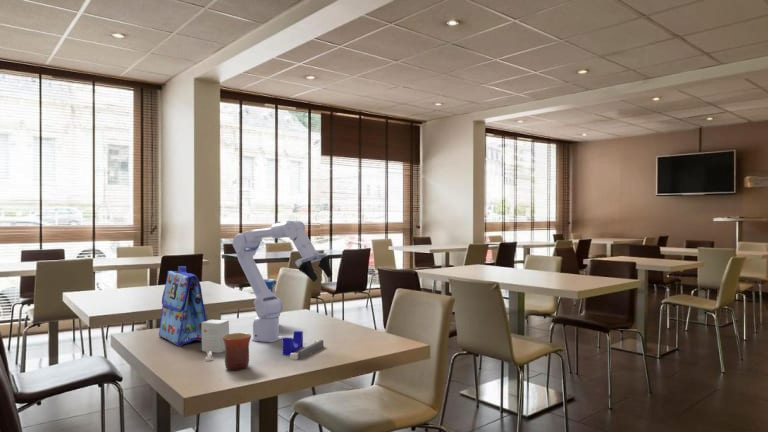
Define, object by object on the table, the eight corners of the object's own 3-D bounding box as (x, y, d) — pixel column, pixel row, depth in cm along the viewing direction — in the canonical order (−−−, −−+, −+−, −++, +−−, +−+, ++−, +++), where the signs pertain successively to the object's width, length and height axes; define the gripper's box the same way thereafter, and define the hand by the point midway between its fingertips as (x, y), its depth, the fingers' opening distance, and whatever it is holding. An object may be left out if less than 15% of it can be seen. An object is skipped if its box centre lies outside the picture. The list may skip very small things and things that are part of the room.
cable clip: (291, 346, 192) (291, 330, 192) (302, 347, 191) (302, 331, 191) (278, 355, 180) (278, 338, 181) (290, 356, 180) (290, 338, 180)
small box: (229, 349, 188) (229, 320, 188) (220, 353, 183) (219, 323, 183) (211, 347, 191) (211, 319, 191) (201, 351, 186) (201, 322, 186)
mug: (248, 371, 161) (248, 338, 161) (219, 372, 160) (219, 339, 160) (255, 361, 173) (254, 330, 173) (228, 361, 172) (228, 331, 172)
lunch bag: (157, 336, 209) (157, 265, 209) (191, 331, 218) (191, 263, 218) (176, 347, 192) (176, 269, 192) (212, 341, 201) (212, 266, 201)
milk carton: (260, 323, 233) (260, 279, 233) (274, 323, 234) (274, 279, 234) (257, 328, 223) (257, 282, 223) (272, 328, 224) (272, 281, 224)
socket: (290, 358, 175) (290, 351, 175) (316, 345, 193) (316, 338, 193) (299, 359, 174) (299, 352, 174) (324, 346, 192) (324, 339, 192)
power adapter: (214, 361, 174) (214, 351, 174) (206, 362, 173) (206, 353, 173) (210, 359, 177) (209, 350, 177) (202, 361, 175) (202, 351, 175)
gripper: (295, 244, 185) (314, 276, 181) (324, 239, 197) (342, 268, 192) (286, 255, 189) (304, 286, 185) (315, 249, 200) (332, 278, 196)
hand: (323, 278), depth 189 cm, fingers open, 7 cm apart
